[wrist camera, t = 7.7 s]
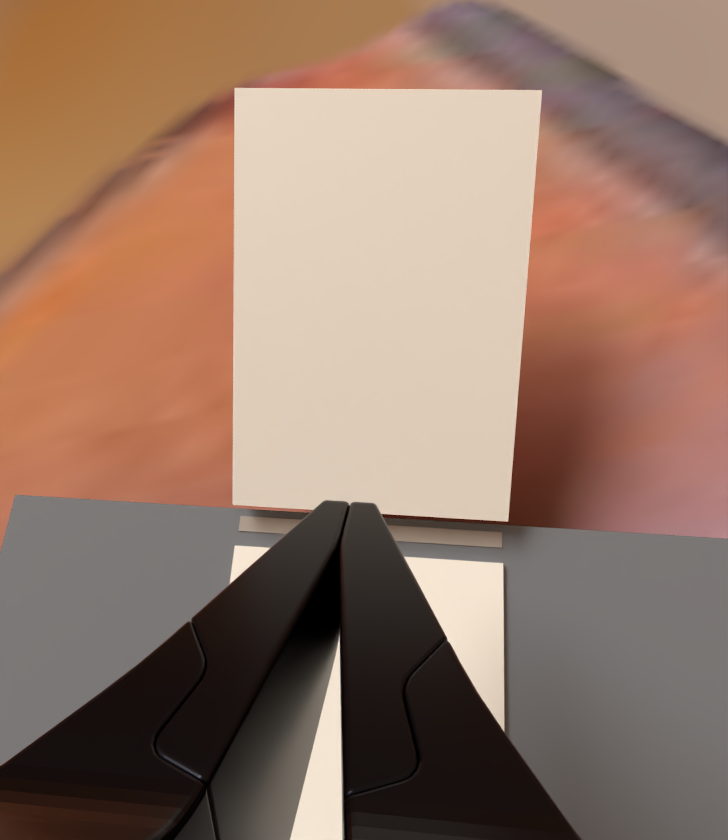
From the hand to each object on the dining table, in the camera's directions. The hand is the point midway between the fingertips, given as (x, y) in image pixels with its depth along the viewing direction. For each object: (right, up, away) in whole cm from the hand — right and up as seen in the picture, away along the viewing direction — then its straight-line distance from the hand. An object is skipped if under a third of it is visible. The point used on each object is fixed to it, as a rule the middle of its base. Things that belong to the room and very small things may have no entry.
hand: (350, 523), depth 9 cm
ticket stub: (0, -1, +6) cm, 6 cm away
